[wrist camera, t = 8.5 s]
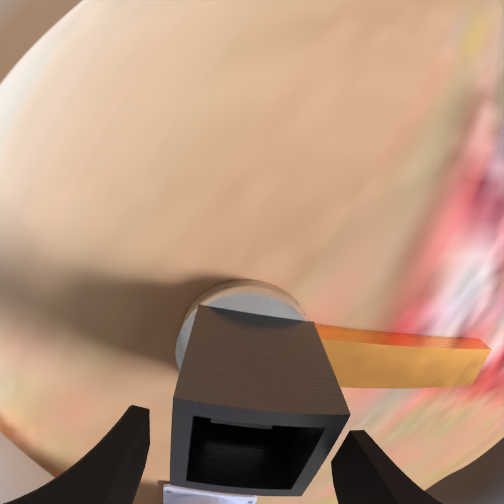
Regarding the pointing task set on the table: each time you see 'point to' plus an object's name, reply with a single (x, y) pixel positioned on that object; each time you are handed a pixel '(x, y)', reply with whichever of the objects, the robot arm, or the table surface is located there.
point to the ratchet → (352, 345)
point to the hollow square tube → (253, 405)
